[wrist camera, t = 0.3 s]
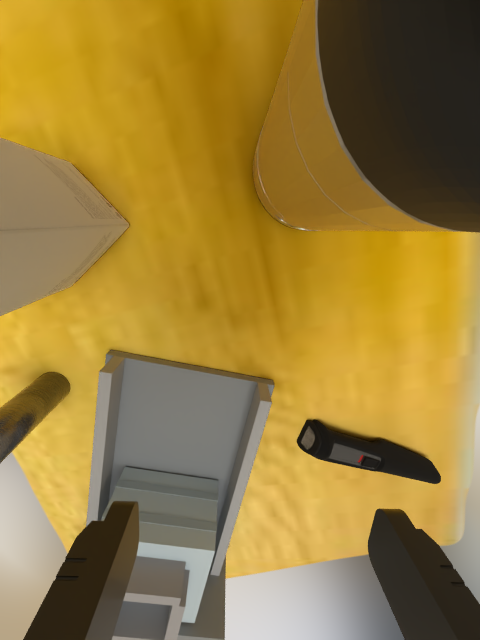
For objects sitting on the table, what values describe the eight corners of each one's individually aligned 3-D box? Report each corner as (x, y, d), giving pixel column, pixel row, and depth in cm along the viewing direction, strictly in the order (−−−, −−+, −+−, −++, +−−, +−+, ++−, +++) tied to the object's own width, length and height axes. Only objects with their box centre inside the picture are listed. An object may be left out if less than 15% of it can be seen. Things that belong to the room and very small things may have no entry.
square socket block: (124, 466, 29) (77, 571, 20) (218, 480, 30) (214, 586, 21) (115, 534, 32) (71, 652, 23) (202, 544, 33) (191, 661, 24)
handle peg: (38, 369, 27) (-103, 472, 16) (70, 375, 27) (-44, 480, 16) (38, 395, 28) (-95, 511, 16) (69, 401, 28) (-40, 518, 17)
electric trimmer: (413, 473, 33) (432, 497, 30) (294, 441, 31) (301, 464, 28) (429, 448, 32) (450, 470, 29) (307, 414, 30) (316, 434, 27)
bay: (110, 349, 27) (53, 407, 18) (272, 380, 28) (291, 446, 20) (93, 529, 34) (46, 631, 25) (223, 545, 35) (221, 646, 27)
